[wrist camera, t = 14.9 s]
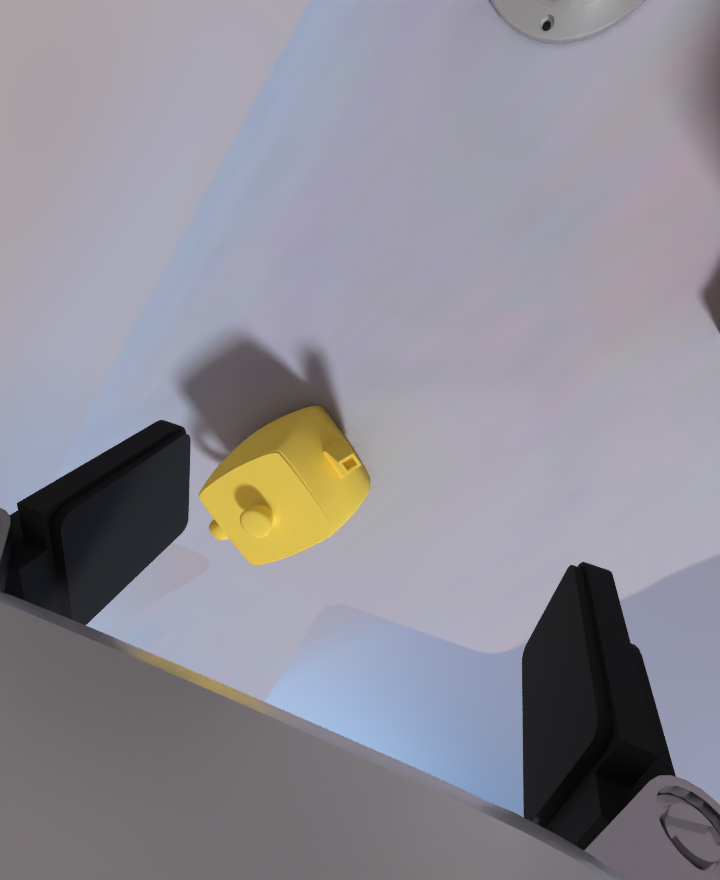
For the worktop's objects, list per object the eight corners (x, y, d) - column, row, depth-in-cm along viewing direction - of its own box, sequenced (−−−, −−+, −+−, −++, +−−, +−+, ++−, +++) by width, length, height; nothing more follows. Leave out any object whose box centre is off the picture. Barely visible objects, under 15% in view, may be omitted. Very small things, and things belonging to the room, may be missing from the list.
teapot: (350, 371, 47) (304, 416, 37) (415, 471, 50) (389, 539, 40) (217, 452, 56) (151, 505, 46) (278, 533, 59) (228, 601, 49)
